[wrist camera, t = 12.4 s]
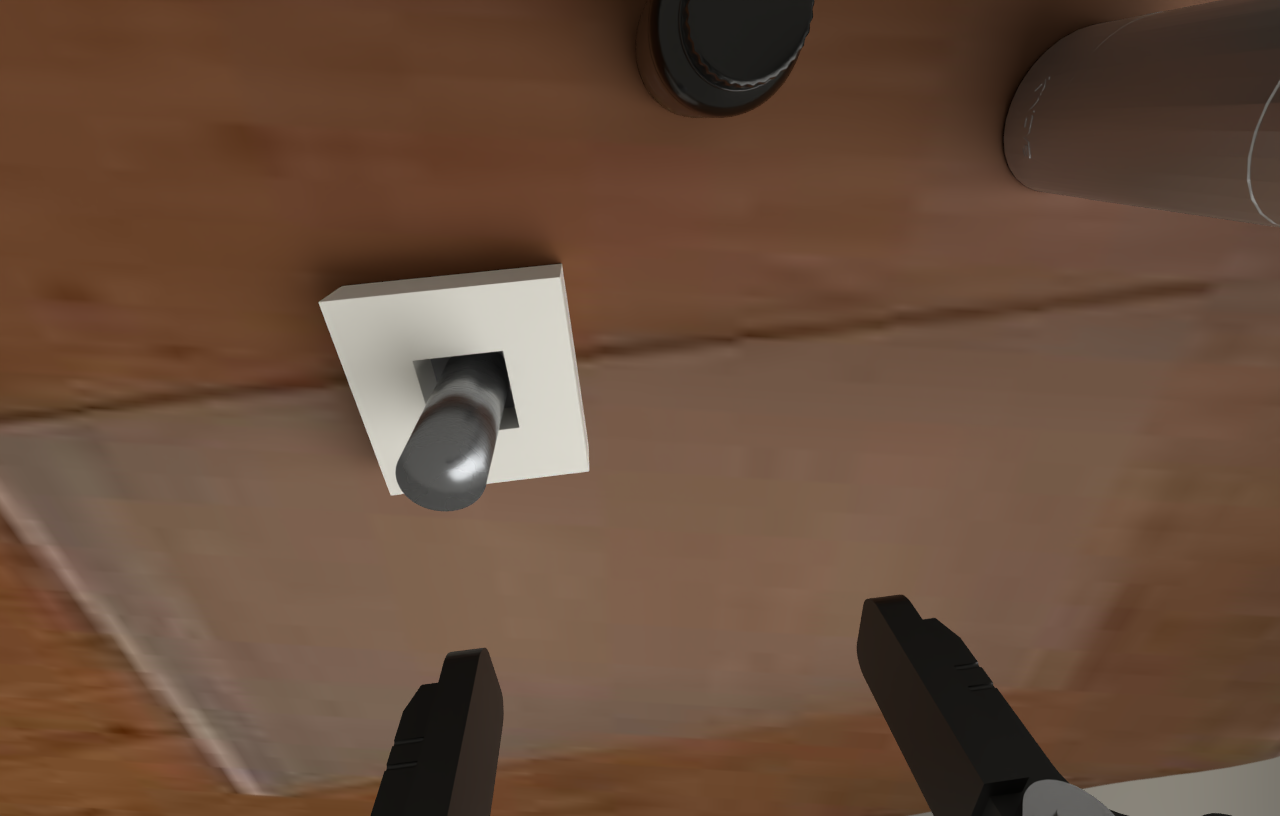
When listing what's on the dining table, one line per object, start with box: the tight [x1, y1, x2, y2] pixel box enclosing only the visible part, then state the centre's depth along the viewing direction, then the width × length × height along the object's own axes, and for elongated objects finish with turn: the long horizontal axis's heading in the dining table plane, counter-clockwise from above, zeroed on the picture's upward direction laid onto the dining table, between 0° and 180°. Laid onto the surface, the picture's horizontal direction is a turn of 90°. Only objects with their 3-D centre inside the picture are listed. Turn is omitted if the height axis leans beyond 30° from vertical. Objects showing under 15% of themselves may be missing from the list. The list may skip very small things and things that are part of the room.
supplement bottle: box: [636, 0, 814, 118], centre depth 25 cm, size 7×7×12 cm
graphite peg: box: [395, 352, 510, 511], centre depth 32 cm, size 4×4×12 cm
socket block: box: [318, 264, 589, 495], centre depth 36 cm, size 14×14×4 cm
